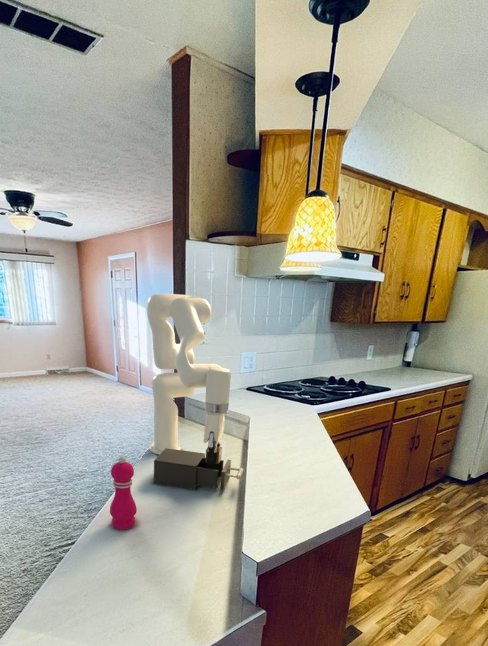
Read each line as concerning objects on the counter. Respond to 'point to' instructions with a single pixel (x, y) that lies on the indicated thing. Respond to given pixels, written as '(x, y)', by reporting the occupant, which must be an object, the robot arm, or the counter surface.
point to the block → (219, 453)
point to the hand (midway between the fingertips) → (213, 459)
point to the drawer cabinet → (177, 468)
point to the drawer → (215, 474)
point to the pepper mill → (122, 496)
